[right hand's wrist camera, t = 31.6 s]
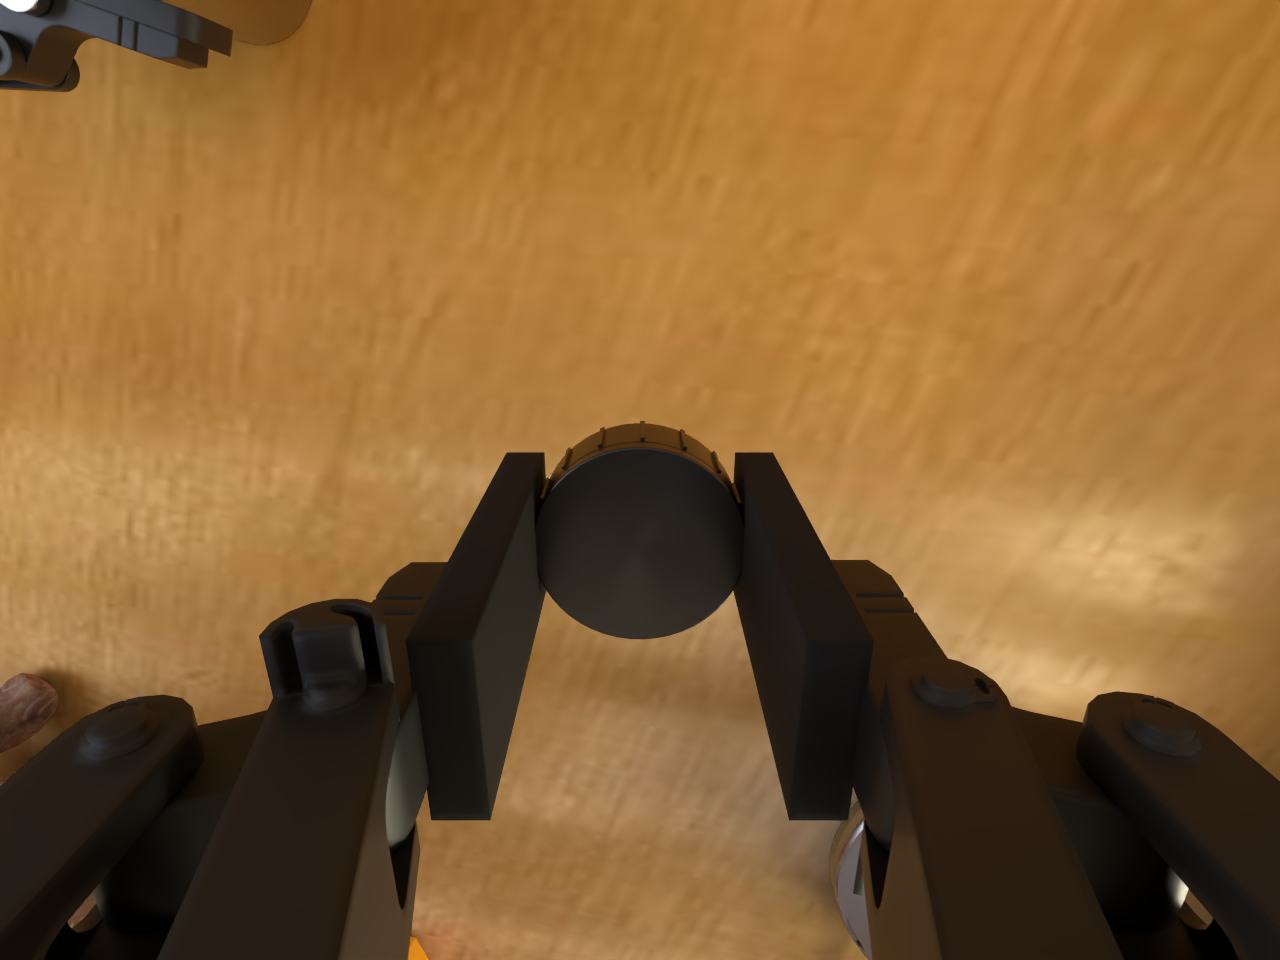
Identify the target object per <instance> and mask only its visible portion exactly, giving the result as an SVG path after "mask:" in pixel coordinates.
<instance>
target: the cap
mask: <svg viewBox="0 0 1280 960" xmlns="http://www.w3.org/2000/svg"><path fill="white" fill-rule="evenodd" d="M539 502H541V505H540V508H539V511H538V514H537V518H536V522H535V537H536V553H537V569H538V574H539V577H540V579H541V581H542V583H543V585H544V587H545V588H546V590H547V591H548V593H549V594H550V596H551V597H552V599H553V600H554V601H555V602H556V603H557V604H558V605H559V607H560V608H561V609H563V610H564V611H565V612H566V613H567V614H568V615H569V616H571V617H572V618H574V619H575V620H577V621H578V622H580V623H581V624H583V625H585V626H587V627H589V628H591V629H593V630H595V631H598V632H601V633H603V634H607V635H611V636H615V637H620V638H627V639H652V638H659V637H664V636H669V635H673V634H676V633H679V632H682V631H684V630H686V629H688V628H691V627H693V626H695V625H696V624H698V623H700V622H701V621H703V620H705V619H706V618H707V617H709V616H710V615H711V614H712V613H714V612H715V611H716V610H717V609H718V608H719V607H720V606H721V605H722V604H723V603H724V602H725V600H726V599H727V598H728V596H729V595H730V594H731V592H732V591H733V589H734V587H735V586H736V584H737V582H738V580H739V577H740V575H741V572H742V562H743V545H744V527H745V524H744V519H743V516H742V513H741V510H740V507H742V502H741V499H740V497H739V494H738V491H737V488H736V485H735V483H731V481H730V478H729V476H728V474H727V473H726V471H725V469H724V467H723V466H722V464H721V463H720V462H719V460H718V457H717V454H716V453H715V451H713V452H712V453H711V451H710V450H709V449H707V448H706V447H705V446H704V445H702V444H701V443H700V442H699V441H697V440H695V439H694V438H692V437H690V436H689V435H687V434H685V431H684V430H682V429H680V431H678V430H675V429H672V428H668V427H665V426H660V425H654V424H645V421H640V424H638V423H635V424H625V425H619V426H615V427H611V428H608V429H605V428H604V427H603V428H600V431H599V432H597V433H595V434H593V435H591V436H589V437H587V438H586V439H584V440H583V441H581V442H580V443H578V444H577V445H576V446H574V447H573V448H572V449H571V448H570V447H569V448H568V449H567V450H566V454H565V456H564V457H563V459H562V460H561V461H560V462H559V463H558V465H557V467H556V468H555V470H554V472H553V473H552V475H551V477H550V479H549V478H547V479H546V481H545V484H544V487H543V490H542V493H541V495H540V498H539Z"/></svg>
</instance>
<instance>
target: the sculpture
mask: <svg viewBox="0 0 1280 960" xmlns="http://www.w3.org/2000/svg"><path fill="white" fill-rule="evenodd" d="M58 704H59V694H58V692H57V691H56V690H55V689H54V688H53V687H52V686H51V685H50V684H49V683H47V682H46V681H44V680H43V679H41V678H39V677H38V676H36V675H33V674H25V673H21V674H19V675H17V676H15V677H13V678H11V679H9V680H8V681H7V682H6V683H5V684H4V685H3V686H2V688H1V689H0V753H1V752H3V751H6V750H8V749H10V748H13V747H15V746H18V745H20V744H21V743H23V742H24V741H26V740H27V739H28V738H30V737H31V736H33V735H34V734H36V733H37V732H38V731H39V730H40V729H41V728H42V727H43V726H44V724H45V723H46V722H47V721H48V720H49V719H50V717H51V716H52V715H53V714H54V712H55V710H56V708H57V706H58ZM5 781H7V780H5ZM5 781H1V782H0V786H1V785H2V784H3V783H4V782H5ZM95 904H96V901H95V898H94V896H93V893H91V894H90V895H89V897H88V898H87V899H86V900H85V901H84V903H83V904H82V905H81V906H80V907H79V908H78V910H77V911H76V912H75V913H74V914H73V915H72V917H71V918H70V919H69V920H68V921H67V922H68V924H69V926H70V927H71V928H73V927H74V926H75V925H76V924H77V923H79V922H80V921H81V920H82V919H83V918H84V917H85V916H86V915H87V914H88V913H89V911H90V910H91V909H92V908H93V907H94V905H95Z"/></svg>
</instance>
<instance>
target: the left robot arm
mask: <svg viewBox="0 0 1280 960" xmlns="http://www.w3.org/2000/svg"><path fill="white" fill-rule="evenodd" d="M232 37H233V30H231V29H229V28H227V27H224V26H222V25H220V24H218V23H215V22H213V21H211V20H209V19H207V18H204V17H202V16H200V15H197V14H195V13H192V12H190V11H187V10H184V9H182V8H179V7H176V6H174V5H171V4H168V3H165V2H163V1H160V0H0V89H7V90H30V91H53V92H68V91H71V90H73V89H74V88H75V87H76V86H77V85H78V82H79V78H80V72H79V68H78V65H77V63H76V61H75V59H74V56H75V54H76V52H77V49H78V48H79V46H80V45H81V44H82V43H83V42H84V41H85V40H87V39H90V38H100V39H103V40H106V41H108V42H111V43H114V44H117V45H120V46H123V47H125V48H128V49H131V50H134V51H137V52H139V53H142V54H145V55H148V56H151V57H153V58H156V59H159V60H162V61H166V62H169V63H172V64H175V65H178V66H181V67H184V68H188V69H193V68H207V60H208V50H209V49H211V50H213V51H216V52H219V53H222V54H224V55H227V56H230V55H231V46H232Z"/></svg>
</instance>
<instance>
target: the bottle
mask: <svg viewBox="0 0 1280 960" xmlns="http://www.w3.org/2000/svg"><path fill="white" fill-rule="evenodd" d="M160 1H163V2H165V3H168V4H171V5H174V6H176V7H179V8H182V9H184V10H187V11H190V12H192V13H195V14H197V15H200V16H202V17H204V18H207V19H209V20H211V21H213V22H215V23H218V24H220V25H222V26H224V27H227V28H229V29H231V30H233V38H235V39H237V40H240V41H242V42H246V43H250V44H258V45H264V44H272V43H276V42H279V41H281V40H283V39H285V38H287V37H289V36H290V35H291V34H292V33H294V32H295V31H296V30H297V29H298V27H299V26H300V25H301V24H302V22H303V21H304V19H305V17H306V15H307V13H308V11H309V8H310V5H311V1H312V0H160Z"/></svg>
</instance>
